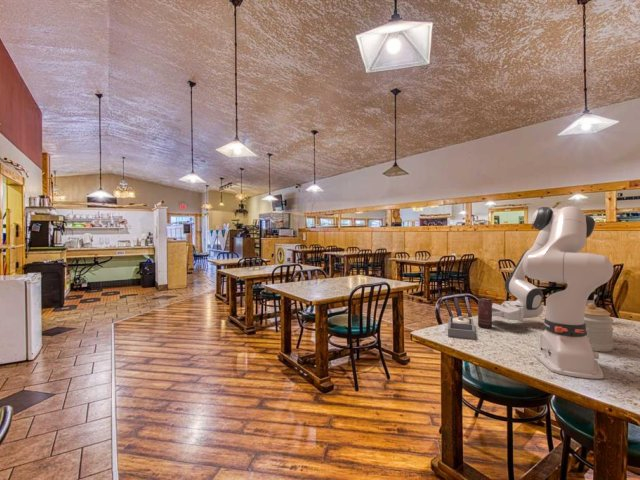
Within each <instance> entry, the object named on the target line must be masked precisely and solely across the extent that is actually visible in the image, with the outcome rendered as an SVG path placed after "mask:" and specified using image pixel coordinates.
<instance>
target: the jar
mask: <svg viewBox="0 0 640 480" xmlns="http://www.w3.org/2000/svg"><path fill="white" fill-rule="evenodd" d="M610 315H611V312H609V311H607V310H606V309H604V308H603V307H602V308H601V307H597V306H596V304H595V302H594V303H589V304H588V305H587V306H585V315H584V323H585V324H586V328H587V335H586V336H587V337H588V338H589V342H590V345H594V349H592V351H594V352H604V353H605V352H607V353H608V352H611V351H613V349H614V343H613V342H614V341H613V339H614V338H613V337H614V335H613V334H614V327H613V325H612V323H613V322H614V319H613V318H612V317H610Z"/></svg>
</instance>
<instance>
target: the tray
mask: <svg viewBox="0 0 640 480" xmlns="http://www.w3.org/2000/svg"><path fill="white" fill-rule="evenodd" d="M453 318H458V317H457V316H448V324H447V325H448V326H447V337H448V338H458V339H465V340H466V339H467V340H476V329H475V323H474V319H473V318H471V317H470V318H468V317H465V318H466V319H469V320H470V324H465V323H453V322H452V319H453Z"/></svg>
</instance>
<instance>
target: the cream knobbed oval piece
mask: <svg viewBox="0 0 640 480" xmlns="http://www.w3.org/2000/svg"><path fill="white" fill-rule="evenodd" d="M466 318H467V317H464V316H463V315H459V316H458V318H453V319H452V322H453V323H465V324H470V320H469V319H466Z"/></svg>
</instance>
